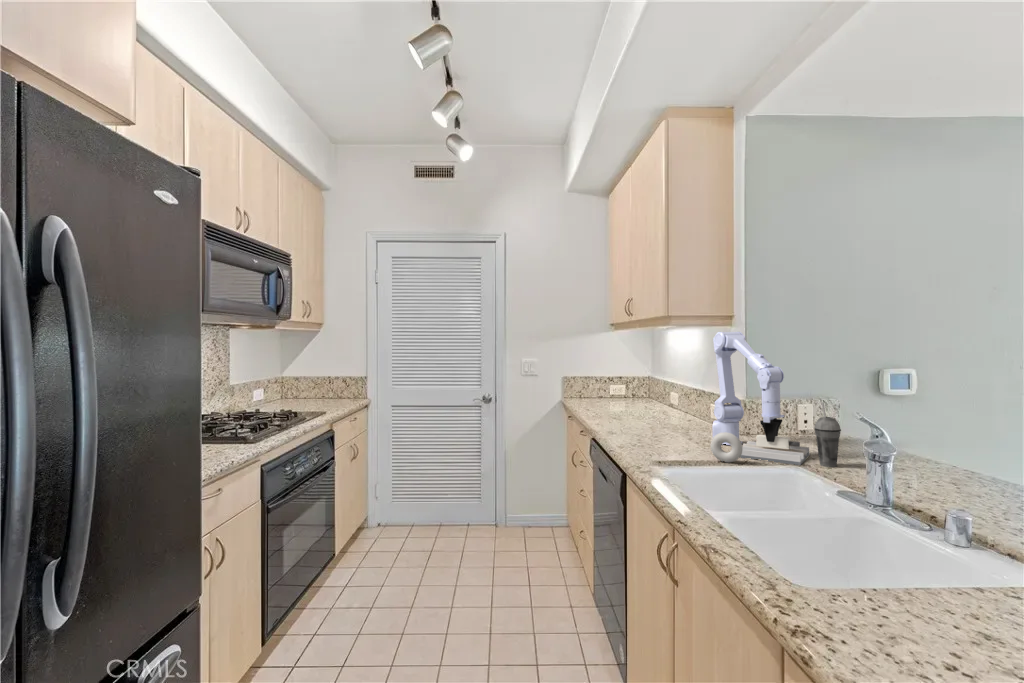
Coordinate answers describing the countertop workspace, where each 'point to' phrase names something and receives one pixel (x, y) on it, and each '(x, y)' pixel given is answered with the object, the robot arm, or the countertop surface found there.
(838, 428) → the beverage cup
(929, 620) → the countertop surface
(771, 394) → the robot arm
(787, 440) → the white box with cylinder
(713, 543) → the countertop surface
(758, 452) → the grey tray
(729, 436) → the donut
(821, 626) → the countertop surface
